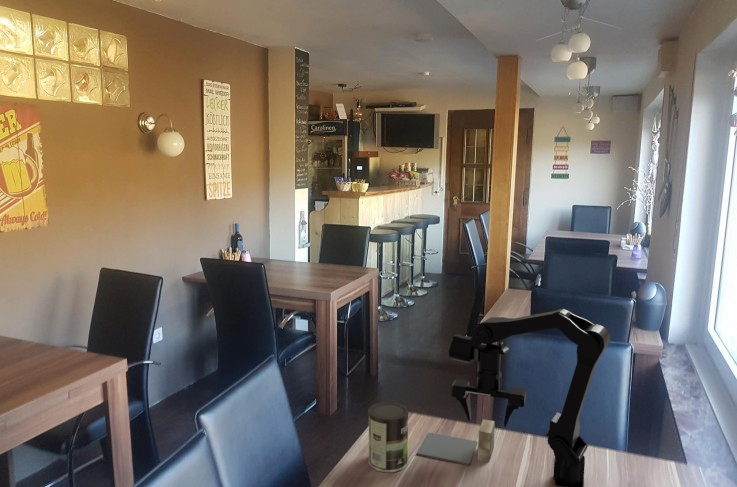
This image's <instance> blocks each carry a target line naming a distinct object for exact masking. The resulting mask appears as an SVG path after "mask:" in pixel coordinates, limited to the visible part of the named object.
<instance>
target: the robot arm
mask: <svg viewBox="0 0 737 487" xmlns="http://www.w3.org/2000/svg"><path fill="white" fill-rule="evenodd" d="M554 329H557V330H558V331H560V332H561V333H562V334H563V335H564V336H565V338H567V339H568V340H569V341H571V342H573V343H574V344H575V345H577V346H576V365H575V368H574V371H573V372H574V373H573V375H572V379H571V381H570V382H571V383H570V385H569V388H568V391H567V394H566V398H565V402H564V404H563V407H562V411H561V413H560V412H559V411H557V412H556V413H555V414H554V416H553V417H552V418H551V420H550V422H549V428H548V431H547V433H546V434H545V436H546V437H547V444H548V445H549V447H550V449H551V450H552V452H553V454H554V459H553V479H554V484H555V485H556V486H561V487H585V466H586V465H585V464H586V457H585V453H586V451H587V449H588V447H589V445H588V444H587V443H586V441H585V440H584V439H583V437H582V436H581V435H580V430H581V421H580V415H581V412H582V410H583V406H584V403H585V400H586V397H587V394H588V391H589V388H590V384H591V381H592V377H593V374H594V372H595V369H596V365H597V364H598V362H599V360H600V359H601V357H602V355H603V354H604V353H605V350H606V348H607V347H608V345H609V344H610V341H611V334H610V333H609V331H608V329H607V328H606V327H604V326H602V325H601V324H597V323H596V324H594V323H593V322H591V321H589V320H588V319H586V318H584V317H581V316H578V315H576V314H574V313H573V312H571V311H569V310H567V309H565V308H559V309H557V310H554V311H548V312H542V313H536V314H531V315H525V316H519V317H514V318H511V317H509V318H508V317H503V316H501V317H500V316H499V317H498V316H496V317H494V316H492V317H489V318H487V319H485V320H484V321H482V322H480V323H479V324H477V326H476V328H475V333H474V334H473V336H471V337H470V336H464V335H462V334H455V335H453V336H452V341H451V343H450V346H449V349H448V356H449V359H450V360H453V361H459V362H462V363H468V364H473V363H474V362H475V361H477V366H475V371H474V372H475V373H474V378H476V380H477V381H476V382H477V383H476V384H477V385H476V386H475V385H470V380H463V379H458V378H457V379H455V380H454V381H453V383H452V385H451V387H450V396H451V397H453V398H455V400H456V401H458V402H459V404H460V405H461V407H462V408H463V410H464V413H465V416H466V417H467V421H468V422H471V420H472V408H471V394H473V395H477V396H478V395H479V396H485V397H493V398H498V399H504V400H505V399H506V400H507V404H506V407H505V408H506V409H505V415H504V419H503V420H504V422H503V427H504V428H506V427H507V425H508V421H509V419H510V417H511V415H512V414H513V412H514V410H519V409H520V408H523V407H525V404H526V399H527V390H525V388H521V387H514V386H510V388H509V391H507V390H501V389H500V388H502V377H503V376H502V372H501V361H502V360H501V355H505V354H507V353H508V352H509V351H510V349H509V347H508V346H506V345H505V343H504V342H500V341H502V340H504V339H507V338H510V337H512V336H517V335H524V334H529V333H537V332H542V331H549V330H554ZM497 342H500V343H499V344H496V343H497Z"/></svg>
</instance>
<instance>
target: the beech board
mask: <svg viewBox="0 0 737 487" xmlns="http://www.w3.org/2000/svg"><path fill="white" fill-rule="evenodd" d="M495 425H496V424H495V420H489V419H482V420H481V424H480V427H479V429H478V440H477V441H478V443H477V460H478V461H481V462H487V463H490V461H491V458H492V454H493V452H494V448H495V429H496V426H495Z"/></svg>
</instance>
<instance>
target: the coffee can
mask: <svg viewBox="0 0 737 487" xmlns="http://www.w3.org/2000/svg"><path fill="white" fill-rule="evenodd" d="M367 412H368V465H369V466H370V468H372V469H373V470H376V472H377V471H378V472H382V473H396V472H400V471H402V470H404V469H406V467H407V466H408V463H409V460H408V459H409V458H408V454H409V453H408V451H409V449H408V446H409V445H408V440H409V437H408V436H409V433H408V432H409V412H410V411H409V408H408V407H406V406H405V405H403V404H401V403H398V402H393V401H392V402H391V401H388V402H387V401H384V402H379V403H375V404H373V405H371V406H370V407H369V408H368V409H367Z"/></svg>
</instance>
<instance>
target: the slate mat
mask: <svg viewBox="0 0 737 487" xmlns="http://www.w3.org/2000/svg"><path fill="white" fill-rule="evenodd" d="M477 447H478V440H472V439H466V438H460V437H455V436H451V435H445V434H444V435H443V434H439V433H434V432H429V431H428V432H427V433H426V436H425V438H424V439H423V441H422V443H421V445H420V447H419V448H418V450H417V452H416V455H417V456H422V457H427V458H431V459H436V460H441V461H447V462H449V463H451V462H452V463H456V464H462V465H466V466H470V465H471V462H472V460H473V457H474V455H475V451H476V449H477Z"/></svg>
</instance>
